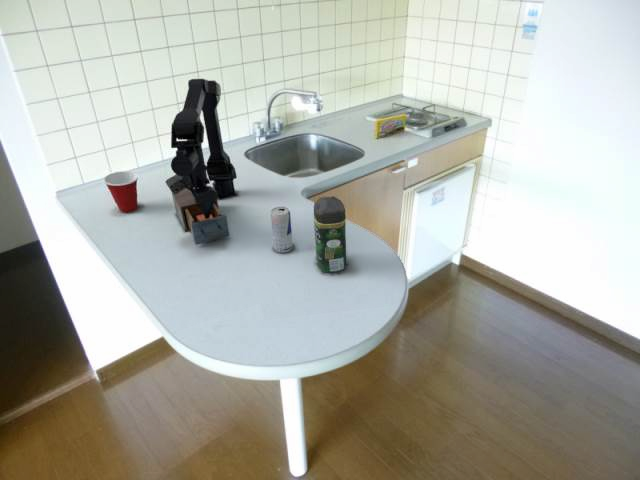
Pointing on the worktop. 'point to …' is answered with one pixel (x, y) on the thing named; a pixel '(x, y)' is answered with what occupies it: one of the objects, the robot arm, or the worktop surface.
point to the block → (202, 217)
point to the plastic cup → (123, 189)
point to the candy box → (390, 126)
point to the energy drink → (281, 229)
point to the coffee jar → (330, 234)
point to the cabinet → (184, 205)
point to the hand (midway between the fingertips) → (203, 212)
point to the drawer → (206, 225)
